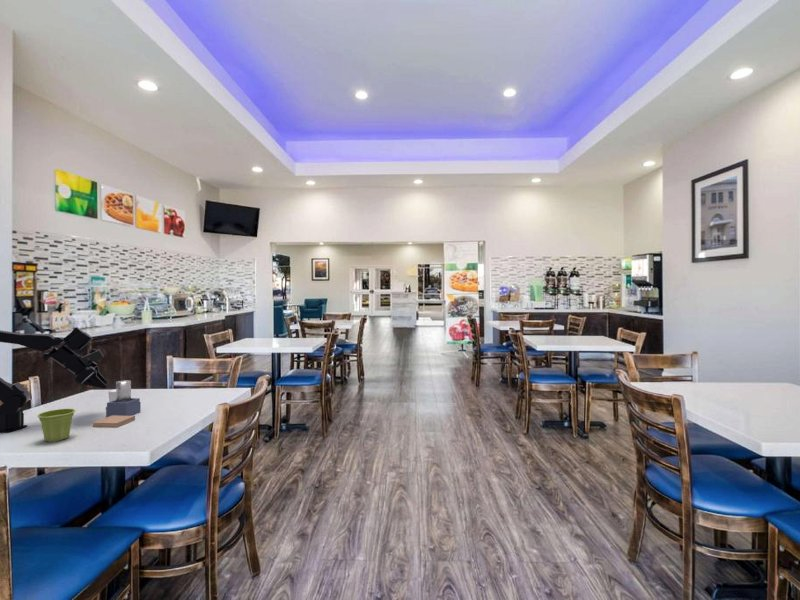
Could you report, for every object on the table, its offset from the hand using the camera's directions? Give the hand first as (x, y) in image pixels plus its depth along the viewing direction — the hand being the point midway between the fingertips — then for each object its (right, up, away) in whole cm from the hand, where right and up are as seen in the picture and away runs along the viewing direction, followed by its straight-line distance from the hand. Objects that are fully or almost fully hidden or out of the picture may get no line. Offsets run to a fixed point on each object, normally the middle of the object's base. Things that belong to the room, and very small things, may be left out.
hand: (106, 385), depth 157 cm
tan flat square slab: (+9, -12, -8) cm, 17 cm away
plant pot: (+2, -12, -25) cm, 28 cm away
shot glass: (-6, -12, +15) cm, 20 cm away
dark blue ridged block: (+5, -12, +3) cm, 13 cm away
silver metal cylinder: (+5, -8, +3) cm, 10 cm away
